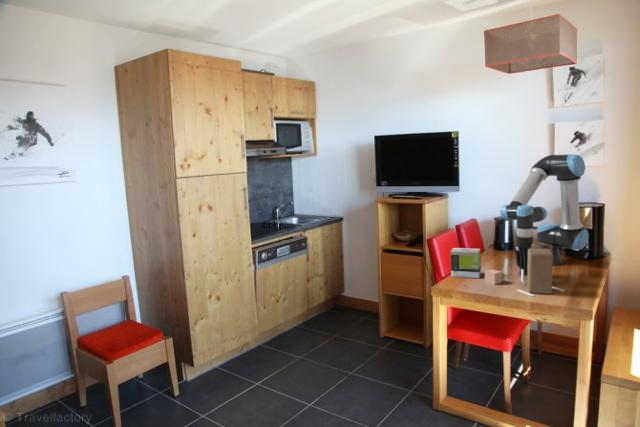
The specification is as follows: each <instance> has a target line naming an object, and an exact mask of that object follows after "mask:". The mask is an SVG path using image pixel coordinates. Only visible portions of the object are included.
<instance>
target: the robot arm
mask: <svg viewBox="0 0 640 427" xmlns="http://www.w3.org/2000/svg"><path fill="white" fill-rule="evenodd" d="M585 170H586V164H585V160H584V159H583V156H581V155H579V154H572V153H571V154H550V155H547V156H544V157H543V158H540V160H539V159H538V161H537V162H536V163H535V164H533V165H532V167H531V168H530V170H529V175H528V176H527V178H526V179H525V181H524V182H523V184H522V185H521V186H520V188H519V190H518V191H517V192H516V194H515V196H514V197H512V198H513V199H512V200H511V201H510V203H509V204H504V205H501V207H500V210H499V211H500V212H499V213H500V217H501V218H503V219H506V220H514V221H516V244H517V246H516V247H513V250H514V254H515V260H516V265H517V267H519V273H520V274H521V275H520V281H521V282H522V283H524V282H526V283H527V267H528V249H530V248H532V246H531V245H532V244H533V241H534V237H533V236H534V223H537V222H541V221H542V222H543V220H545V219H546V218H547V215H548V212H547V209H546V208H545V207H543V206H533V205H529V202H530V200H531V199H532V197H533V196H534V194H535V193H536V191H537V190H538V188H539V187H540V185H541V183H543V181H545V180H547V178H548V177H551V176H552V177H556V181H557V182H559V188H560V201H561V202H560V203H561V217H562V218H561V219H562V223H561V224H559V223H545V224H540V225H538V226H537V228H536V229H537V230H536V242H539V243H544V244H548V245H552V246H553V247H552V254H553V266H560V265H562V264H563V259H562V257H561V253H560V248H563V249H565V248H566V249H571V250H582V249H584V247H586V245H587V243H588V240H589V230H587V229H585V228H584V224H583V223H581V219H580V218H581V216H580V213H581V212H580V202H579V201H580V199H579V194H580V193H579V181H580V180H581V177H582V176H584V174H585Z"/></svg>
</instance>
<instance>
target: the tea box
mask: <svg viewBox="0 0 640 427" xmlns="http://www.w3.org/2000/svg"><path fill="white" fill-rule="evenodd" d="M481 259H482V258H481V248H469V247H468V248H467V247H466V248H465V247H453V248H452V249H451V250H450V275H451V276H450V277H454V278H469V279H480V276H481V273H482V270H481V269H482V268H481V267H482V264H481V262H482V261H481Z"/></svg>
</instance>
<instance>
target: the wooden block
mask: <svg viewBox="0 0 640 427" xmlns="http://www.w3.org/2000/svg"><path fill="white" fill-rule="evenodd" d="M553 266H554V265H553V254H552V253H551V251H550V249H533V248H530V249H528V267H527V281H526V285H527V290H528V293H530V294H542V295H543V294H547V295H548V294H549V295H550V294H552V293H553V291H552V290H553V288H552V286H553V284H552V278H553V268H554V267H553Z"/></svg>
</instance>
